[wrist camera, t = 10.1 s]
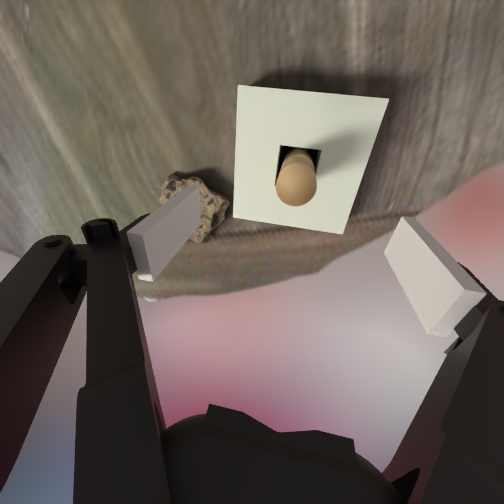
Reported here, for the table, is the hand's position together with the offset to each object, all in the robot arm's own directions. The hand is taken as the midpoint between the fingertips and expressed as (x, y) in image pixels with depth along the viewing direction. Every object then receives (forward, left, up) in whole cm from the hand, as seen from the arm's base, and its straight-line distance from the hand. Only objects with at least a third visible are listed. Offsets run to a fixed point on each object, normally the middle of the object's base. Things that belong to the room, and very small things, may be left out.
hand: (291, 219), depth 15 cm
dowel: (0, 0, -21) cm, 21 cm away
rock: (+9, -16, -21) cm, 28 cm away
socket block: (0, 0, -21) cm, 21 cm away
